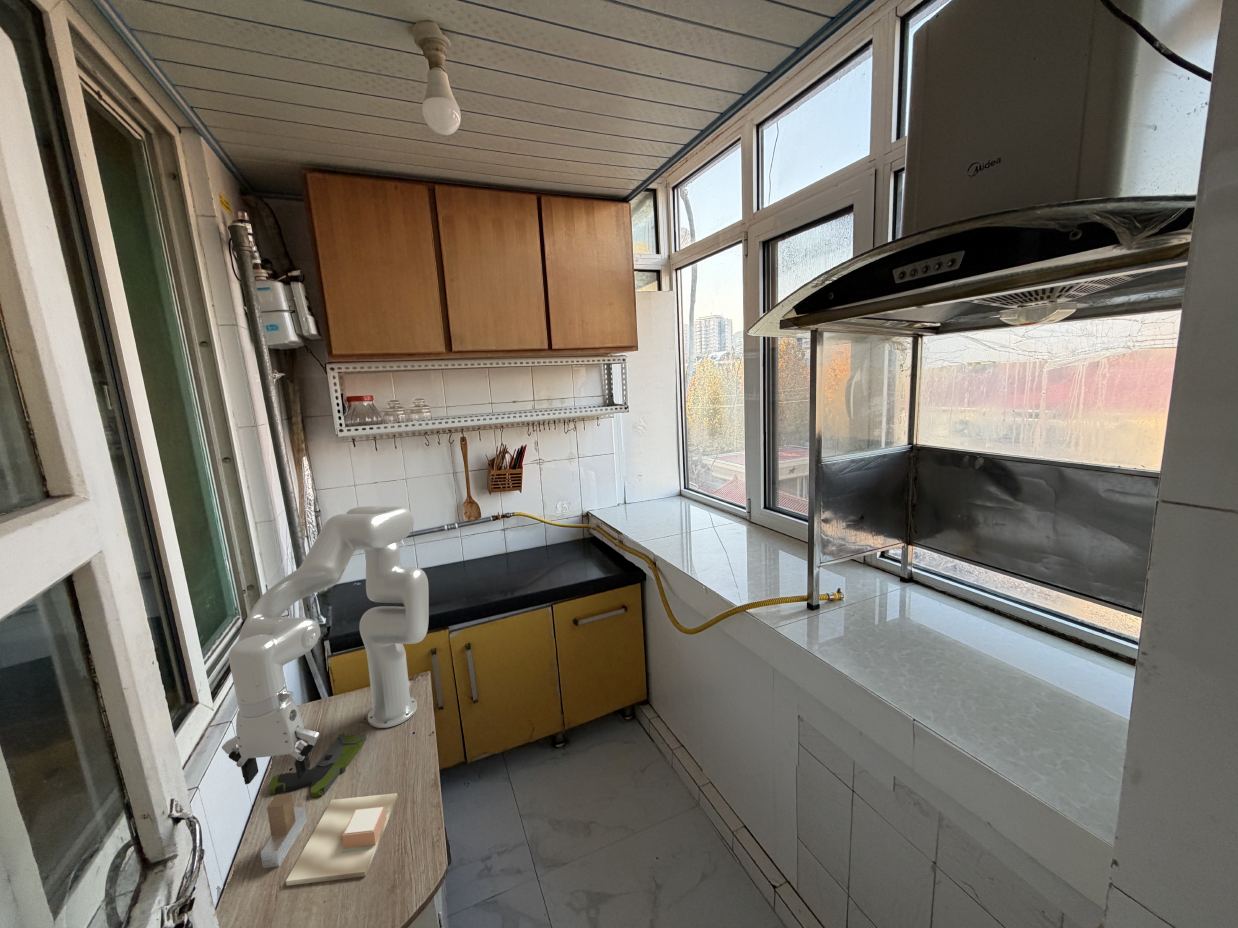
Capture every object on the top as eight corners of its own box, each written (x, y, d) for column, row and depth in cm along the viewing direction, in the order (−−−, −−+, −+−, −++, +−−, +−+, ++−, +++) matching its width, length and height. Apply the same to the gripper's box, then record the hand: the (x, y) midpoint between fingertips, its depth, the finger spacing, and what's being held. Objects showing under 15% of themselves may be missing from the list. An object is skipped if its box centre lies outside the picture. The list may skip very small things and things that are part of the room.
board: (332, 803, 108) (331, 799, 108) (397, 796, 110) (397, 792, 110) (286, 885, 91) (285, 880, 90) (365, 875, 92) (364, 871, 92)
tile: (356, 821, 102) (355, 808, 102) (386, 818, 103) (385, 805, 103) (344, 848, 97) (342, 834, 96) (375, 844, 97) (374, 831, 97)
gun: (313, 740, 129) (370, 740, 129) (261, 799, 110) (327, 800, 110) (313, 731, 129) (369, 732, 129) (259, 789, 110) (326, 790, 110)
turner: (291, 822, 104) (285, 781, 102) (306, 820, 104) (300, 779, 103) (263, 868, 94) (255, 823, 92) (279, 866, 94) (272, 821, 93)
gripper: (320, 683, 98) (332, 756, 102) (228, 691, 97) (243, 765, 100) (300, 708, 91) (314, 786, 94) (200, 717, 89) (218, 796, 93)
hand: (278, 775), depth 97 cm, fingers open, 9 cm apart
